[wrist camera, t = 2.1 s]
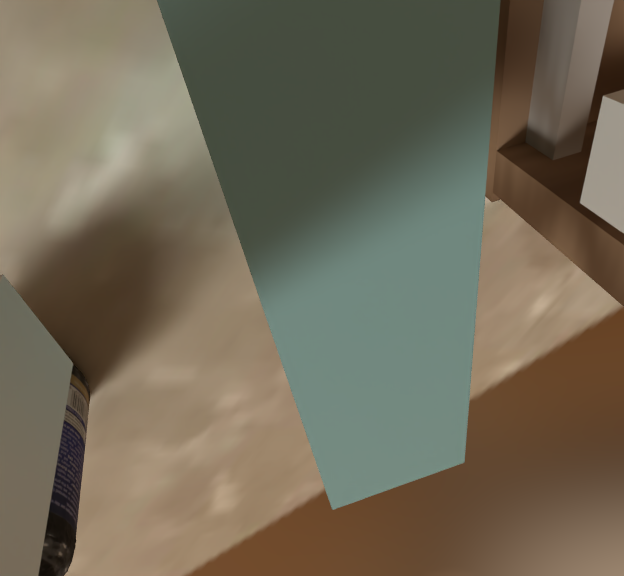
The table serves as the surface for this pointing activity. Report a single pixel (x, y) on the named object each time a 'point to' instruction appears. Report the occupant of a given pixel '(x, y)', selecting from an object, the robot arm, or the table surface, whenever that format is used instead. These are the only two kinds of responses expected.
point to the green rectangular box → (355, 208)
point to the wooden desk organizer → (556, 123)
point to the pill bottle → (67, 482)
